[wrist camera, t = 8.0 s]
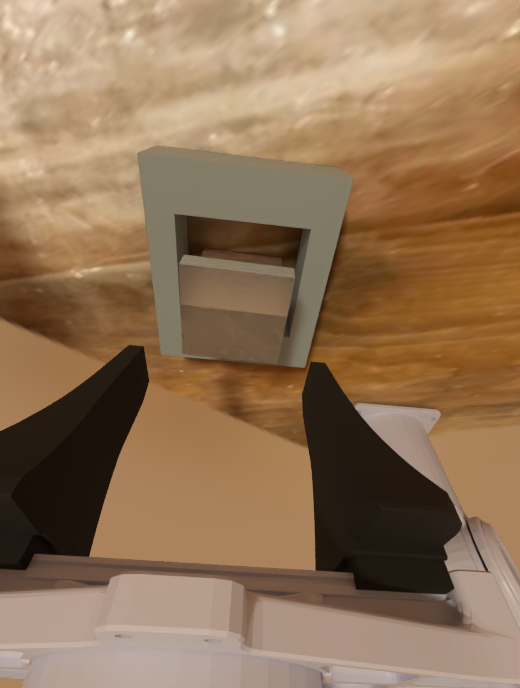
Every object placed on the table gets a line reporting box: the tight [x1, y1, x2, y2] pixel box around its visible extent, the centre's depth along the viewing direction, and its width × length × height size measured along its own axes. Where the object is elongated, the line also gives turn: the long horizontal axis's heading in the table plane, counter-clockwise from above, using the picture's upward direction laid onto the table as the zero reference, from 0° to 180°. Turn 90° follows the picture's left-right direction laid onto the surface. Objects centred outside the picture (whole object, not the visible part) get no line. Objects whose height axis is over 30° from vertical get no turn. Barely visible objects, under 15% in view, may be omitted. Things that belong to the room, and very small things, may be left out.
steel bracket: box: [179, 248, 295, 364], centre depth 18 cm, size 5×5×7 cm
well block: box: [138, 146, 353, 368], centre depth 19 cm, size 12×10×3 cm
